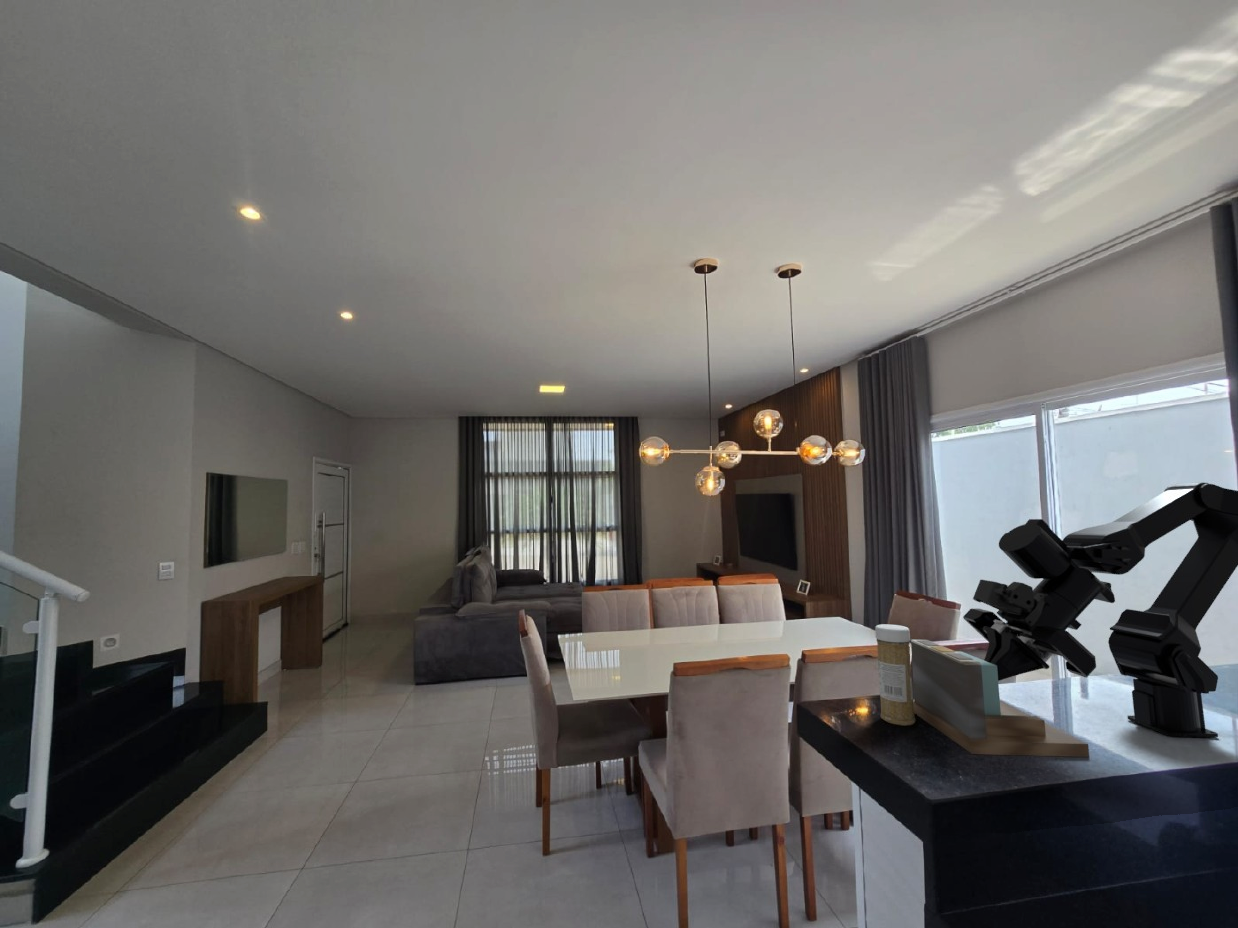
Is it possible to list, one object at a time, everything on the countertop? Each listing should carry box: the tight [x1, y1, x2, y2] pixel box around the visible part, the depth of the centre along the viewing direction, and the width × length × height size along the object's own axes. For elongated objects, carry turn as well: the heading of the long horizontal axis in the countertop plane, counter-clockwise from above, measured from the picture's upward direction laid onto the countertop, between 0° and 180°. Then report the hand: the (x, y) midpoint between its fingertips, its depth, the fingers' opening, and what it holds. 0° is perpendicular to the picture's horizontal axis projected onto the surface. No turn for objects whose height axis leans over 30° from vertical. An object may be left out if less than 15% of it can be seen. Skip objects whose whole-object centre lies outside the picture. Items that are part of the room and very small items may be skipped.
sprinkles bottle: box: [874, 623, 916, 727], centre depth 77 cm, size 5×5×13 cm
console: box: [910, 639, 1090, 758], centre depth 74 cm, size 14×16×11 cm
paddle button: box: [954, 650, 1001, 715], centre depth 74 cm, size 3×8×8 cm, turn 177°
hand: (982, 681), depth 74 cm, fingers closed
